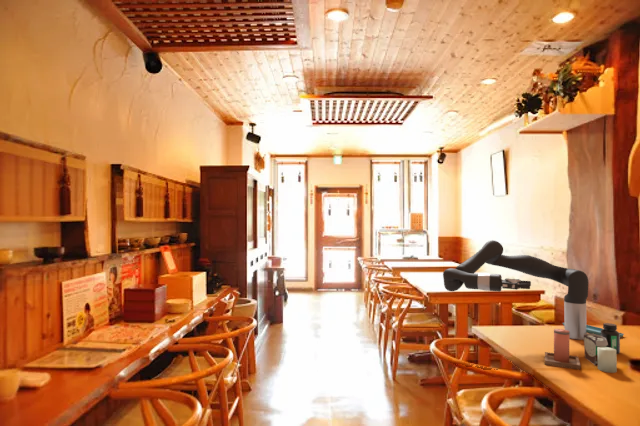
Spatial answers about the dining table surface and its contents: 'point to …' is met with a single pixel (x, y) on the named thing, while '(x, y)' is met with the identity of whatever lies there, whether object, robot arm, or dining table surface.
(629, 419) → the dining table surface
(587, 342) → the food container
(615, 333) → the supplement bottle
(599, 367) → the sage tin
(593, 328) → the shallow long dish
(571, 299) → the robot arm
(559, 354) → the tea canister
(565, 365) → the tray
